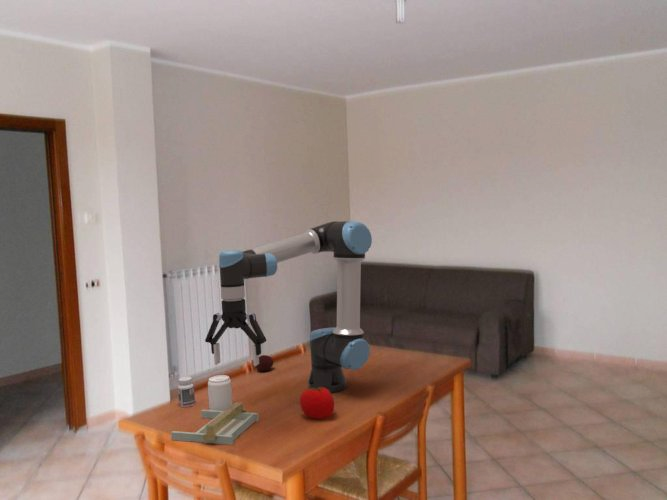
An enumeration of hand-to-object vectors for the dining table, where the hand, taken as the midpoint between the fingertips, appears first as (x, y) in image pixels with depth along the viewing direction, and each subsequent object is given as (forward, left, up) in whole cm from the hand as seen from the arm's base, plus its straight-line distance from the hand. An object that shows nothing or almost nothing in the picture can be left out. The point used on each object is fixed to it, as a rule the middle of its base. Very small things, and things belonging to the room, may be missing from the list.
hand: (236, 364), depth 189 cm
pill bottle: (+30, -18, -22) cm, 41 cm away
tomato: (-22, -15, -22) cm, 34 cm away
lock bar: (+4, +2, -20) cm, 21 cm away
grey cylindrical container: (+14, -14, -22) cm, 29 cm away
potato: (+18, -63, -22) cm, 69 cm away
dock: (+8, +2, -22) cm, 23 cm away
